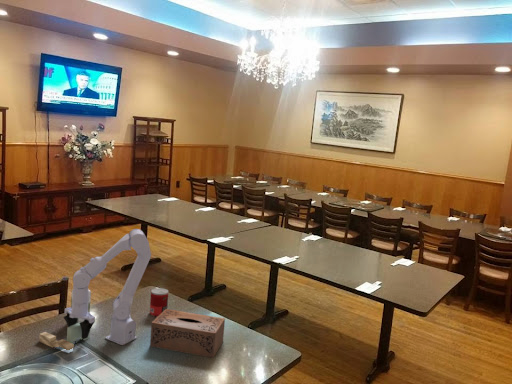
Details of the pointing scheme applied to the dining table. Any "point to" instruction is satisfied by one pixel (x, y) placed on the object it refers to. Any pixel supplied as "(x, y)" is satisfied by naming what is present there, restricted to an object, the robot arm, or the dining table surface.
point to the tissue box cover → (187, 332)
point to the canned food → (158, 301)
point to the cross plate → (75, 333)
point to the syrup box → (88, 305)
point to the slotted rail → (54, 341)
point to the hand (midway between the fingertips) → (78, 335)
